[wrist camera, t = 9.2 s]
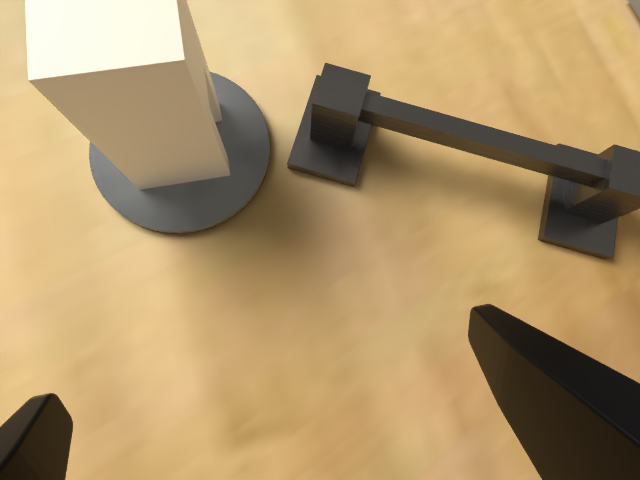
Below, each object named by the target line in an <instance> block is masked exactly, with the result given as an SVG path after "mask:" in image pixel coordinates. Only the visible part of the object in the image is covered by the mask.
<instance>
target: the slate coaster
mask: <svg viewBox="0 0 640 480" xmlns="http://www.w3.org/2000/svg"><path fill="white" fill-rule="evenodd" d="M210 75H211V79H212V82H213V85H214V88H215V91H216V94H217V97H218V100H219V104H220V110H221V117H222V121H221V122H215V124H216V126H217V129H218V132H219V134H220V137H221V140H222V143H223V145H224V148H225V151H226V153H227V156H228V163H229V169H230V176H224V177H218V178H211V179H205V180H199V181H192V182H186V183H180V184H173V185H167V186H160V187H154V188H148V189H141V190H139V189H138V188H137V187H136V186H135V185H134V184H133V183H132V182H131V181H130V180H129V179H128V178H127V177H126V176H125V175H124V174H123V173H122V172H121V171H120V170H119V169H118V168H117V167H116V166H115V165H114V164H113V163H112V162H111V161H110V160H109V159H108V158H107V157H106V156H104V155H103V154H102V153H101V152H100V151H99V150H98V149H97V148H96V147H95V146H94V145H93V144H92V143H91V142H90V149H89V159H90V167H91V171H92V175H93V178H94V180H95V183H96V185H97V187H98V189H99V191H100V192H101V194H102V195H103V197H104V198H105V199H106V200H107V202H108V203H109V204H110V205H111V206H112V207H113V208H114V209H115V210H117V211H118V212H119V213H120V214H121V215H123V216H124V217H126V218H127V219H129V220H130V221H132V222H134V223H136V224H138V225H140V226H142V227H144V228H148V229H151V230H154V231H159V232H164V233H178V234H179V233H191V232H196V231H201V230H205V229H208V228H211V227H214V226H216V225H218V224H220V223H222V222H225V221H226V220H228V219H229V218H231V217H232V216H234V215H235V214H237V213H238V212H239V211H240V210H241V209H243V208H244V207H245V206H246V205H247V204H248V203H249V201H250V200H251V199H252V198H253V197H254V195H255V194H256V192H257V191H258V189H259V188H260V186H261V184H262V182H263V180H264V177H265V174H266V172H267V168H268V163H269V155H270V144H269V135H268V130H267V126H266V123H265V120H264V117H263V115H262V113H261V111H260V109H259V107H258V106H257V104H256V103H255V102H254V100H253V99H252V98H251V97H250V96H249V95H248V94H247V92H246V91H245V90H243V89H242V88H241V87H240V86H238V85H237V84H236V83H234V82H232V81H231V80H229V79H227V78H225V77H223V76H221V75H218V74H215V73H212V72H210Z"/></svg>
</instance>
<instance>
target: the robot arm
mask: <svg viewBox="0 0 640 480" xmlns="http://www.w3.org/2000/svg"><path fill="white" fill-rule="evenodd" d="M468 338H469V342H470V345H471V347H472V349H473V351H474V353H475V356H476V358H477V360H478V362H479V364H480V367H481V369H482V371H483V373H484V375H485V378H486V380H487V382H488V384H489V386H490V389H491V391H492V393H493V395H494V397H495V399H496V401H497V403H498V405H499V407H500V409H501V411H502V412H503V414H504V416H505V418H506V419H507V421H508V423H509V424H510V426H511V428H512V429H513V431H514V433H515V435H516V436H517V438H518V440H519V441H520V443H521V445H522V446H523V448H524V450H525V451H526V453H527V455H528V456H529V458H530V460H531V462H532V463H533V465H534V467H535V468H536V470H537V472H538V473H539V475H540V477H541V478H542V480H640V383H638V382H636V381H634V380H632V379H630V378H629V377H627V376H625V375H623V374H621V373H619V372H617V371H615V370H614V369H612V368H610V367H608V366H606V365H604V364H602V363H600V362H599V361H597V360H595V359H593V358H591V357H589V356H587V355H585V354H584V353H582V352H580V351H578V350H576V349H574V348H572V347H570V346H569V345H567V344H565V343H563V342H561V341H559V340H557V339H555V338H554V337H552V336H550V335H548V334H546V333H544V332H542V331H540V330H539V329H537V328H535V327H533V326H531V325H529V324H527V323H525V322H524V321H522V320H520V319H518V318H516V317H514V316H512V315H510V314H509V313H507V312H505V311H503V310H501V309H499V308H497V307H495V306H493V305H491V304H485V305H480V306H475V307H473V308H472V309H471V312H470V320H469V329H468ZM72 431H73V422H72V418H71V416H70V414H69V413H68V411H67V410H66V408H65V407H64V405H63V403H62V402H61V400H60V399H59V397H58V396H57V395H56V394H54V393H49V394H44V395H39V396H35V397H32V398H30V399H29V400H28V401H27V402H26V403H25V404H24V405H23V406H22V407H21V408H20V409H18V410H17V411H16V412H15V413H14V414H13V415H12V416H11V417H10V418H9V419H8V420H7V421H6V422H5V423H4V424H3V425H2V426H1V427H0V480H65V477H66V471H67V464H68V458H69V451H70V444H71V438H72Z"/></svg>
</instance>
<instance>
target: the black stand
mask: <svg viewBox="0 0 640 480" xmlns="http://www.w3.org/2000/svg"><path fill="white" fill-rule="evenodd" d="M370 78H371V76H370V75H367V74H363V73H360V72H356V71H353V70H349V69H346V68H342V67H339V66H335V65H331V64H328V63H325V65H324V68H323V71H322V74H321V76H319V75H317V76H316V79H315V82H314V85H313V88H312V91H311V94H310V97H309V100H308V103H307V106H306V109H305V112H304V115H303V118H302V121H301V124H300V127H299V130H298V133H297V136H296V139H295V142H294V145H293V148H292V151H291V154H290V157H289V160H288V163H287V164H288V168H291V169H295V170H298V171H302V172H305V173H309V174H312V175H316V176H319V177H323V178H326V179H330V180H333V181H337V182H340V183H343V184H347V185H350V186H354V185H355V182H356V178H357V175H358V171H359V168H360V164H361V161H362V157H363V154H364V150H365V147H366V143H367V140H368V136H369V133H370V129H371V126H372V125H374V126H378V127H381V128H385V129H388V130H392V131H395V132H399V133H402V134H406V135H409V136H413V137H416V138H420V139H423V140H427V141H430V142H434V143H437V144H441V145H444V146H448V147H451V148H455V149H458V150H462V151H465V152H469V153H472V154H476V155H479V156H483V157H487V158H490V159H494V160H497V161H501V162H504V163H508V164H511V165H515V166H518V167H522V168H525V169H529V170H532V171H536V172H539V173H543V174H546V175H548V181H547V187H546V194H545V200H544V206H543V212H542V218H541V224H540V230H539V237H538V240H541V241H545V242H548V243H552V244H555V245H559V246H562V247H566V248H569V249H572V250H576V251H579V252H583V253H586V254H590V255H593V256H597V257H600V258H604V259H608V258H611V257H613V255H614V246H615V237H616V229H617V220H618V217H620V216H622V215H625V214H627V213H630V212H632V211H635V210H637V209H640V152H639V151H636V150H632V149H628V148H625V147H621V146H618V145H613V146H611V147H609V148H608V149H606V150H605V151H603V152H602V153H600V154H594V153H591V152H587V151H584V150H580V149H577V148H573V147H570V146H566V145H562V144H557V145H556V146H555V145H552V144H548V143H544V142H541V141H537V140H534V139H530V138H527V137H523V136H520V135H516V134H513V133H509V132H506V131H502V130H499V129H495V128H492V127H488V126H485V125H481V124H477V123H474V122H470V121H467V120H463V119H460V118H456V117H453V116H449V115H446V114H442V113H439V112H435V111H432V110H428V109H425V108H421V107H418V106H414V105H410V104H407V103H403V102H400V101H396V100H393V99H389V98H386V97H382V96H380V94H381V93H379V92H376V91H372V90H368V85H369V81H370Z"/></svg>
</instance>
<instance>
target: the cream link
mask: <svg viewBox="0 0 640 480" xmlns="http://www.w3.org/2000/svg"><path fill="white" fill-rule="evenodd" d="M25 10H26V36H27V62H28V81H30V82H31V83H32V84H33V85H34V86H35V87H36V88H37V89H38V90H39V91H40V92H41V93H42V94H43V95H44V96H45V97H46V98H47V99H48V100H49V101H50V102H51V103H52V104H53V105H54V106H55V107H56V108H57V109H58V110H59V111H60V112H61V113H62V114H63V115H64V116H65V117H66V118H67V119H68V120H69V121H70V122H71V123H72V124H73V125H74V126H75V127H76V128H77V129H78V130H79V131H80V132H81V133H82V134H83V135H84V136H85V137H86V138H87V139H88V140H89V141H90V142H91V143H92V144H93V145H94V146H95V147H96V148H97V149H98V150H99V151H100V152H101V153H102V154H103V155H104V156H106V157H107V158H108V159H109V160H110V161H111V162H112V163H113V164H114V165H115V166H116V167H117V168H118V169H119V170H120V171H121V172H122V173H123V174H124V175H125V176H126V177H127V178H128V179H129V180H130V181H131V182H132V183H133V184H134V185H135V186H136V187H137V188H138V189H139V190H141V189H148V188H154V187H160V186H167V185H173V184H180V183H186V182H192V181H199V180H205V179H211V178H218V177H224V176H230V169H229V163H228V156H227V153H226V151H225V148H224V145H223V143H222V140H221V137H220V134H219V132H218V129H217V126H216V124H215V122H221V121H222V117H221V110H220V104H219V100H218V97H217V94H216V91H215V88H214V85H213V82H212V79H211V75H210V72H209V69H208V66H207V63H206V60H205V57H204V54H203V51H202V48H201V44H200V41H199V38H198V35H197V32H196V29H195V26H194V23H193V20H192V17H191V13H190V10H189V7H188V4H187V1H186V0H25Z"/></svg>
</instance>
